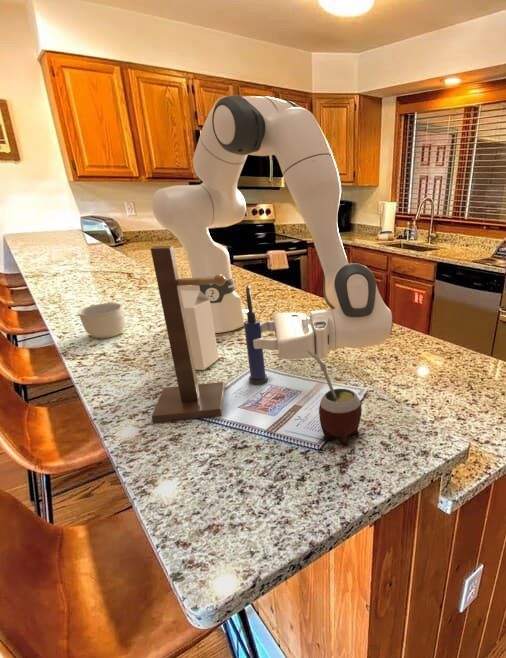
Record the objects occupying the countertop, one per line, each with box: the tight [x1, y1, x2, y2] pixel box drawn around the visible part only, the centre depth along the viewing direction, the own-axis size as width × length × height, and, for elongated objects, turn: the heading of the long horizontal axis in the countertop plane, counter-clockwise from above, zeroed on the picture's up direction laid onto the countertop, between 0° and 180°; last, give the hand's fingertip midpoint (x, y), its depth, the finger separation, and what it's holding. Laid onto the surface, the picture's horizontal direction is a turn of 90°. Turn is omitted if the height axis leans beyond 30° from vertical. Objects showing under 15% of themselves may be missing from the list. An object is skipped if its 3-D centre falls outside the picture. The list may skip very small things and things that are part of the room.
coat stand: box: [150, 245, 226, 424], centre depth 78 cm, size 12×16×30 cm
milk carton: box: [180, 285, 219, 371], centre depth 98 cm, size 7×7×19 cm
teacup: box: [77, 302, 126, 339], centre depth 122 cm, size 14×11×8 cm
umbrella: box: [243, 285, 269, 386], centre depth 89 cm, size 6×4×21 cm, turn 13°
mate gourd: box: [307, 350, 363, 448], centre depth 70 cm, size 8×8×15 cm
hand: (253, 335), depth 89 cm, fingers open, 8 cm apart
